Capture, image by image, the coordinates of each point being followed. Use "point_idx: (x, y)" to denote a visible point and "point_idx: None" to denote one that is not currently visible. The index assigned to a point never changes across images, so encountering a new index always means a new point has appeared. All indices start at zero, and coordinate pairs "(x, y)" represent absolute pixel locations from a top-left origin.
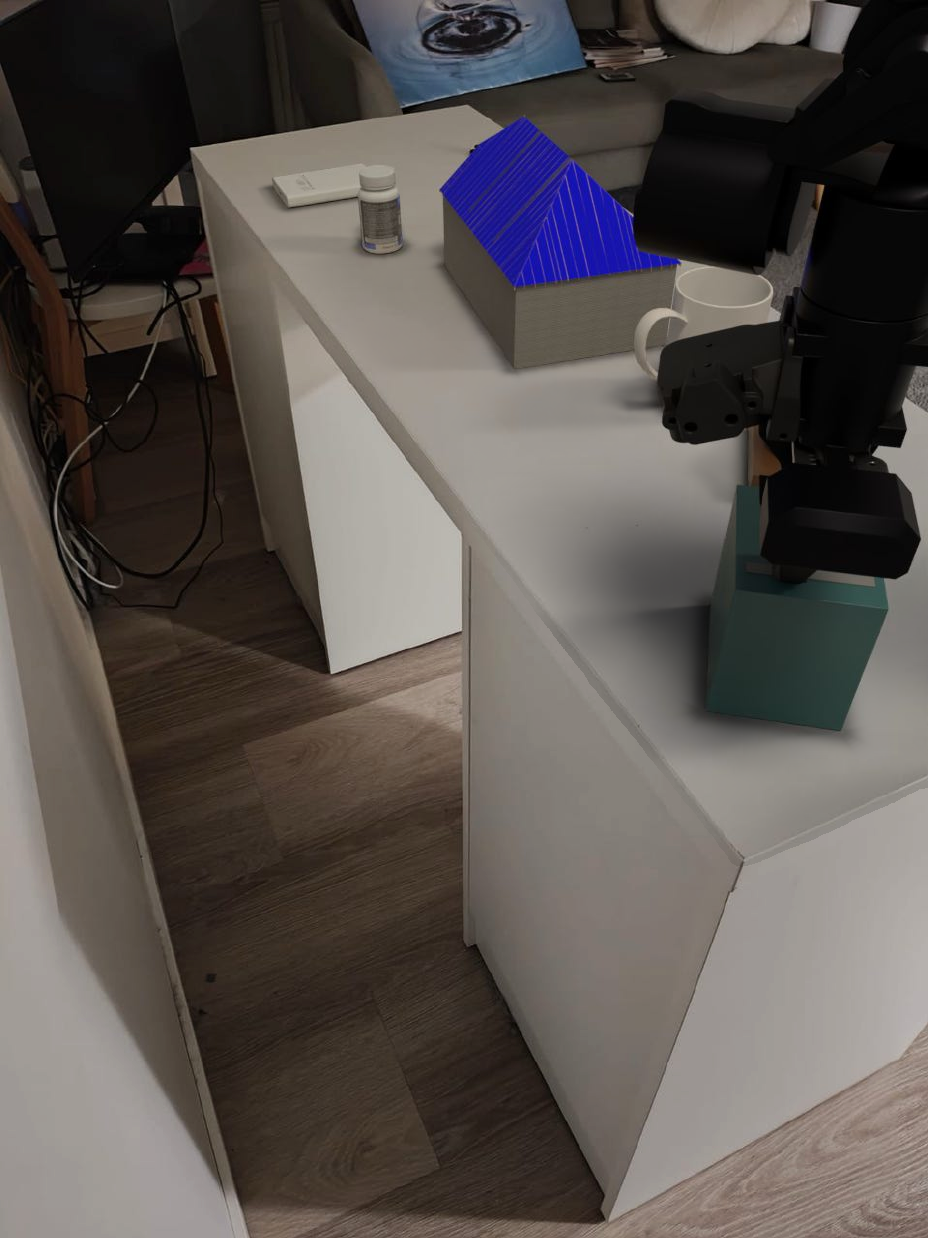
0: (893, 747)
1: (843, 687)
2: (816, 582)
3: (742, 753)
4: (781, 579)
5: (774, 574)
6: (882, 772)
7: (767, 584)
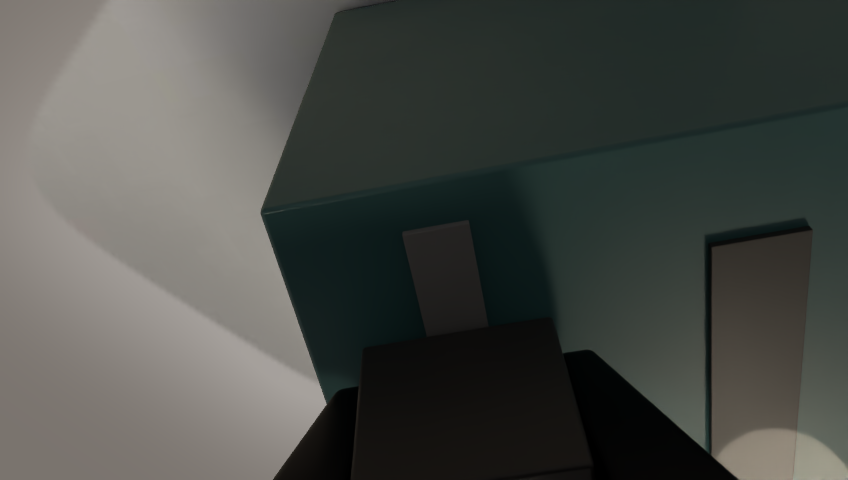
0: None
1: None
2: None
3: (246, 123)
4: (332, 398)
5: (360, 368)
6: None
7: (356, 318)
